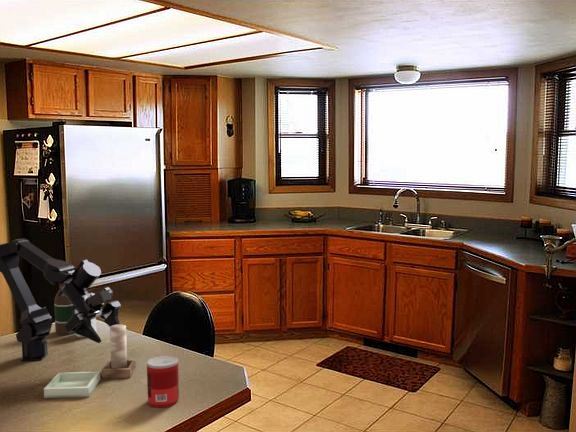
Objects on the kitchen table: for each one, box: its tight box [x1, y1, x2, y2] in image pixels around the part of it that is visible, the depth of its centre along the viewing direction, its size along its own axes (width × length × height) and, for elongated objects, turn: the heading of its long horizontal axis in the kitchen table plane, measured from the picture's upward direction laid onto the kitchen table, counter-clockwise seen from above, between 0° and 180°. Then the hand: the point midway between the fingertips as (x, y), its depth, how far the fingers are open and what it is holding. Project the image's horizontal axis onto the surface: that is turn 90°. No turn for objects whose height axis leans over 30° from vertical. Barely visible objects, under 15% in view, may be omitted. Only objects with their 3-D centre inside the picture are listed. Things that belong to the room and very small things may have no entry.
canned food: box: [146, 355, 180, 408], centre depth 146 cm, size 8×8×11 cm
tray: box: [43, 371, 101, 399], centre depth 155 cm, size 12×12×2 cm
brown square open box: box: [101, 358, 137, 379], centre depth 166 cm, size 8×8×2 cm
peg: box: [109, 323, 128, 369], centre depth 166 cm, size 4×4×14 cm
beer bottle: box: [53, 282, 75, 336], centre depth 204 cm, size 8×8×24 cm
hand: (110, 337), depth 167 cm, fingers open, 9 cm apart
